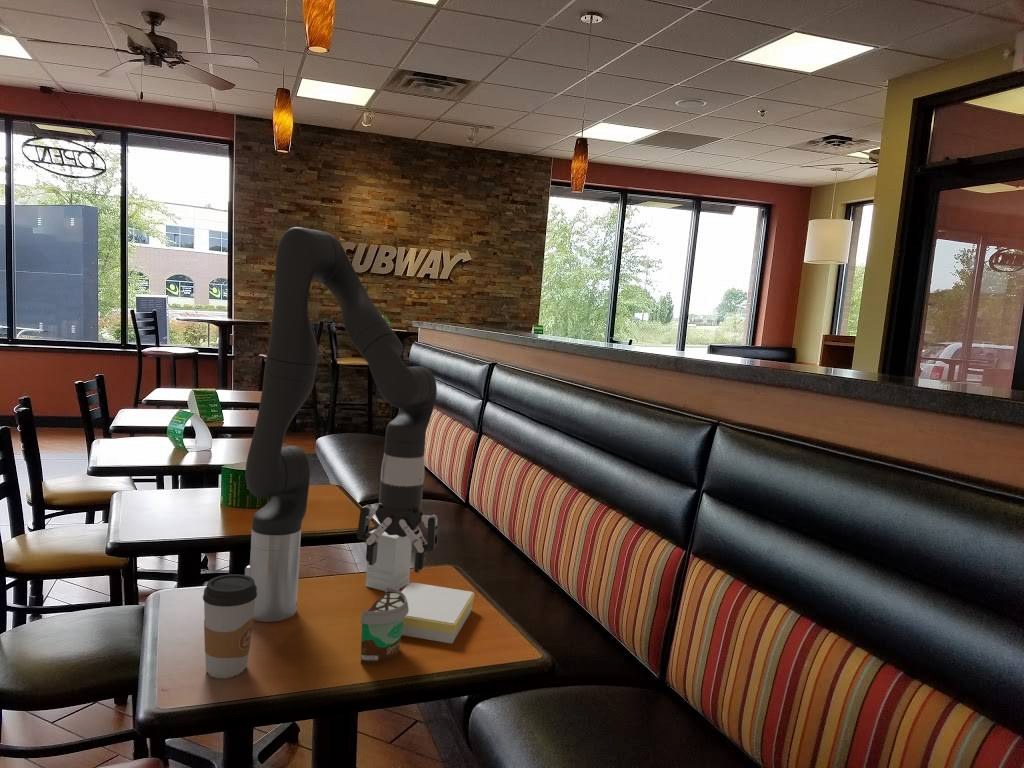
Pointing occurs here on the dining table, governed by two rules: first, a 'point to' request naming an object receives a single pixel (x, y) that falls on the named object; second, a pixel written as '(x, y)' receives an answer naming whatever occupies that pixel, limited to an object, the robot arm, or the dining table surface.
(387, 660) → the food container
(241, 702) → the dining table surface
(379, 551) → the supplement box
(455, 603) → the white flat block
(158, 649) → the dining table surface
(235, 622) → the coffee cup
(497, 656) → the dining table surface
